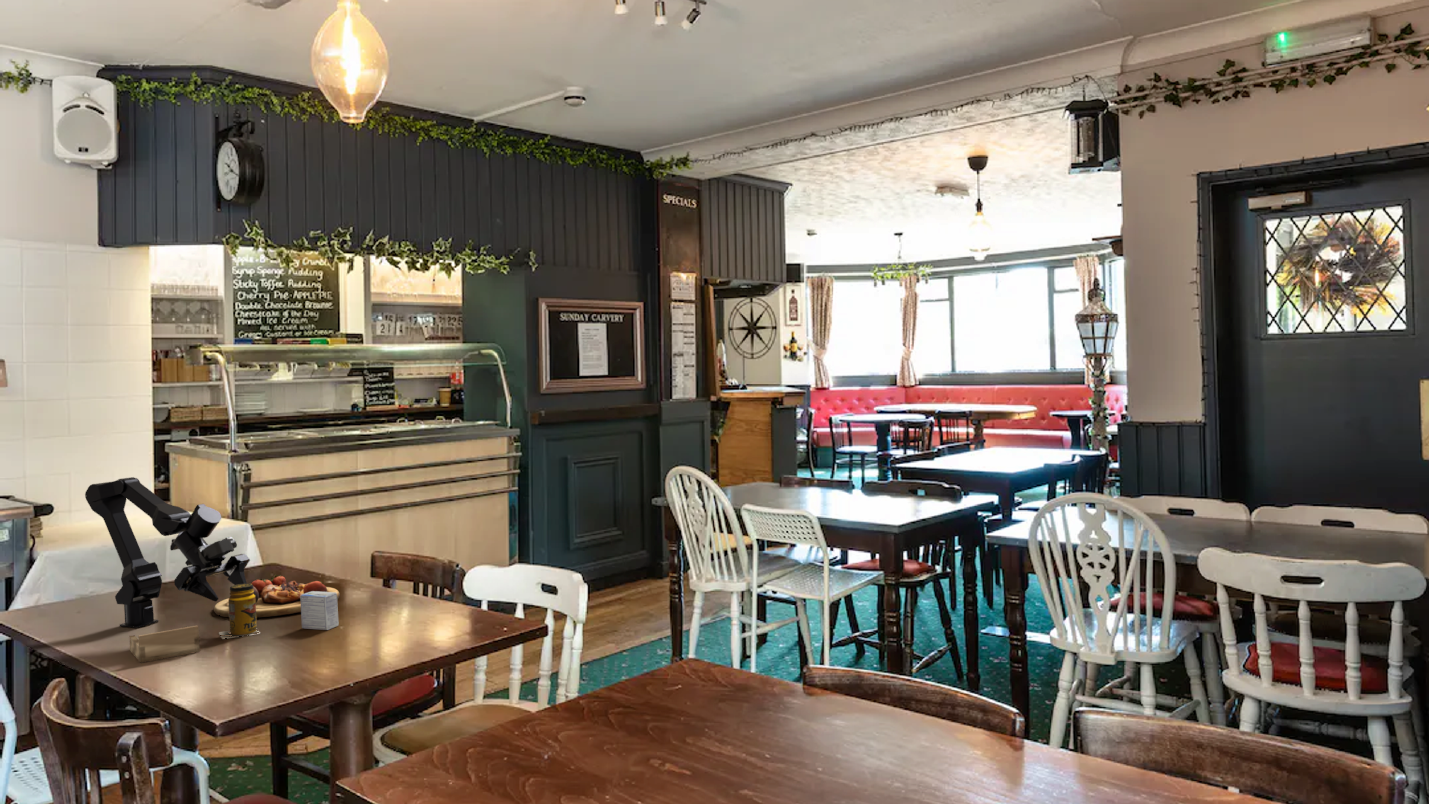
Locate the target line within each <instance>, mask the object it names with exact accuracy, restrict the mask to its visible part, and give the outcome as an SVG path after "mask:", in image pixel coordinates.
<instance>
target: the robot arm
mask: <svg viewBox="0 0 1429 804" xmlns="http://www.w3.org/2000/svg"><path fill="white" fill-rule="evenodd" d="M84 497H85V501H86V502H87V503H88V505H89V507H90V510H92V512H94V513H96V514H97V515H98V516H100V517H101V518H102V519H103V521H104V523H105V526H106V529H107V532H108V534H109V536H110V538H111V541H112V543H113V545H114V547H115V550H116V553H117V556H118V558H119V560H120V562H121V564H122V568H123V569H122V574H121V577H120V581H121V584H122V586H121V587H120V589H119V590H118V592H116V594H115V595H114V598H115V601H116V604H117V605H122V606H123V608H124V610H123V611H124V622H123V623H119V627H123V628H124V627H126V628H134V629H137V628H138V629H139V628H141V627H145V626H148V625H152V624H155V623H158V622H159V621H160V620H159V619H154V617H155V616H154V615H155V614H154V613H155V612H154V605H153V599H159V597H160V593H161V588H162V584H163V579H162V573H161V572H160V571H159V567H158V563H156V561H153V562H149V561H147V560H146V559H145V558H144V557H145V556H143V553H142V550H141V548H140V545H139V543H138V540H137V539H136V536H135V534H134V532H133V529H132V526H131V525H130V522H129V519H128V517H127V514H126V512H125V507H126V504H127V500H128V501H129V502H131V504H133V505H134V506H136V507H137V508H138V509H139V510H140V511H142V512H143V513H144V514H145V515H147V516H148V517H149V518H150V519H151V522H152V526H153V527H154V529H156V531H158V533H159V534H160V535H161V536H164V537H169V536H175V535H176V537H175V538H173V539H171V543H170V546H169V547H170V548H169V549H170V551H176V550H180V552H181V553H182V555H183V556H184V557H185V558H186V561H185V564H186V566H185V567H184V566H183V567H182V569H181V570H180V572H179V573H178V574H177V576H176V577H175V578H174V586H175V587H176V588H177V590H178V591H184V592H189V593H192V594H195V595H198V596H200V597H203V598H206V599H209V600H210V601H212V602H218V600H219V596H218V595H217V593H216V592H215V590H214V589H213V588H212V586H211V585H210V583H209V582H208V581H207V577H209V576H210V577H211V576H214V575H218V574H221V573H222V574H223V575H224V576H225V577H227V580H228V582H230V584H232V585H237V584H248V583H247V579H246V576H245V569H246V567H247V566H248V564H249V562H250V561H251V559H250V557H248V555H247V553H240V554H236V555H235V554H234V555H231V556H230V557H229V558H228V560H227V561H226V562H225V563H222V562H223V561H225V559H226V558H227V556H226V555H228V554H229V553H232V552H234V551H235V548H237V547H238V544H237V540H235V538H233V537H232V535H231V536H227V537H225V538H222V540H217V541H214V542H213V543H210V544H208V543H207V541H206V540H205V538H208V537H209V536H210V535H212V533H213V532H214V530H215V529H216V527H217V526H218V524H219V523H220V522H221V521H222V514H221V513H220V511H218V510H216V509H214V508H212V507H210V506H206V504H205V503H201V504H196V506H195V508H194V509H193V512H192V513H190V511H187V510H186V509H184V508H182V507H181V506H176V505H172V504H169V503H167V502H166V501H164V500H163V499H161V497H159V496H158V495H156V494H155V493H154V492H152V491H151V490H150V489H149V488H148V487H146V486H145V485H144V484H143V483H141V481H140V480H139V478H137V477H134V476H133V477H123V478H118V479H116V480H113V481H106V482H99V483H92V484H90V485H89V486H88V487H87V489H86V491H85V493H84Z"/></svg>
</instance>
